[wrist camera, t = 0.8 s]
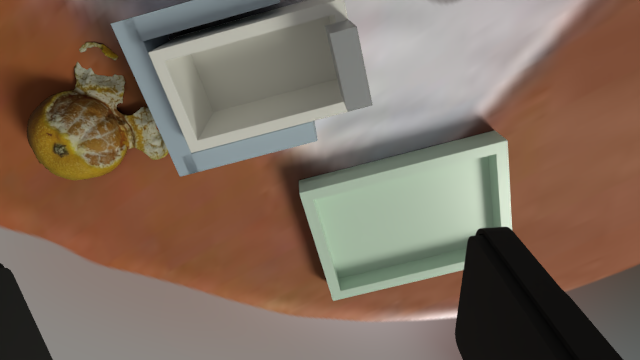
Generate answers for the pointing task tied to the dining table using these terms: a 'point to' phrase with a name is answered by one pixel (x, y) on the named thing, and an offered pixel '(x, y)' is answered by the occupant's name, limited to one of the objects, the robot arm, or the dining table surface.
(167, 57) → the box
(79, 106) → the fruit
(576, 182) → the dining table surface
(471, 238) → the robot arm
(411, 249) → the tray
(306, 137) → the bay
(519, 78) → the dining table surface
